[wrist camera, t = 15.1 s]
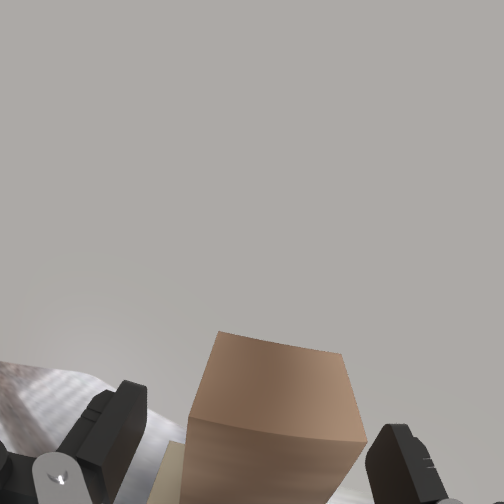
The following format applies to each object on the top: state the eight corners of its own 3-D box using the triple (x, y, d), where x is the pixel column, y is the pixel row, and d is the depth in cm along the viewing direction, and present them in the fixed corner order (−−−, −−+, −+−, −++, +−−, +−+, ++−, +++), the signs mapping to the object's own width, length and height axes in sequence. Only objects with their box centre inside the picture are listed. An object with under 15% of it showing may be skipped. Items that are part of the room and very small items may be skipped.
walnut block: (280, 488, 13) (341, 353, 11) (278, 558, 9) (367, 441, 7) (194, 474, 13) (218, 331, 11) (176, 543, 9) (188, 416, 7)
